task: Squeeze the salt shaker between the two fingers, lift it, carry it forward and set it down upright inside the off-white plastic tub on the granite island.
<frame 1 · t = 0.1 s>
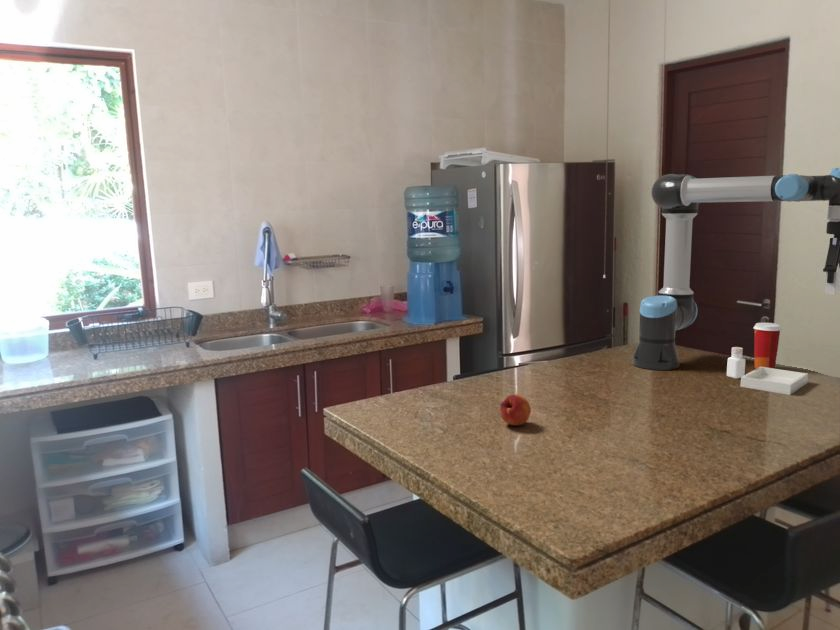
hand: (835, 292, 200), 28 cm above the countertop, fingers open, 13 cm apart
fruit: (514, 425, 169), on the countertop
bin: (774, 384, 203), on the countertop
salt shaker: (735, 377, 212), on the countertop
coffee cup: (764, 369, 223), on the countertop
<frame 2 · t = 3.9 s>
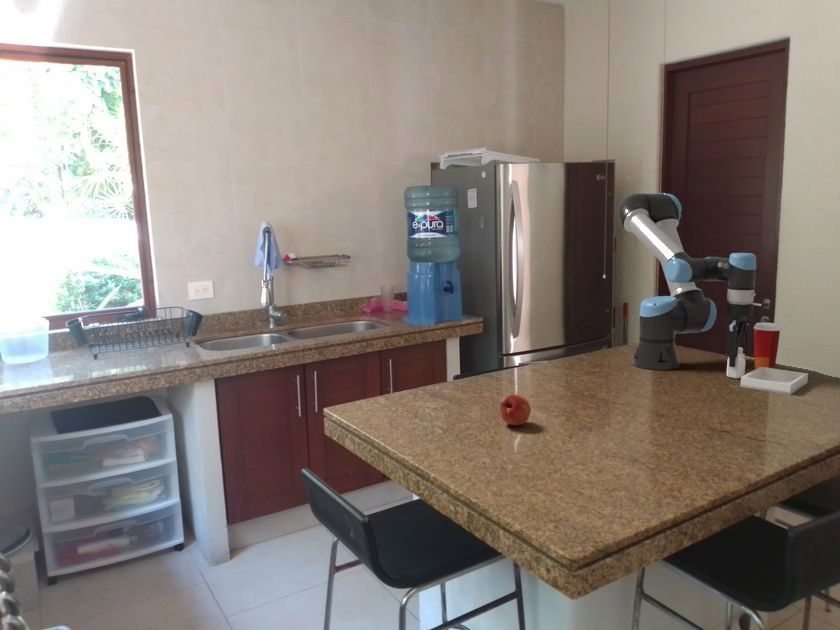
hand: (735, 374, 212), 1 cm above the countertop, fingers closed on salt shaker, 5 cm apart
salt shaker: (735, 377, 212), on the countertop, touching gripper
everything else where it was.
when the fingers open (4 cm above the countertop, at t = 8.5 s): salt shaker drops 2 cm, resting on bin.
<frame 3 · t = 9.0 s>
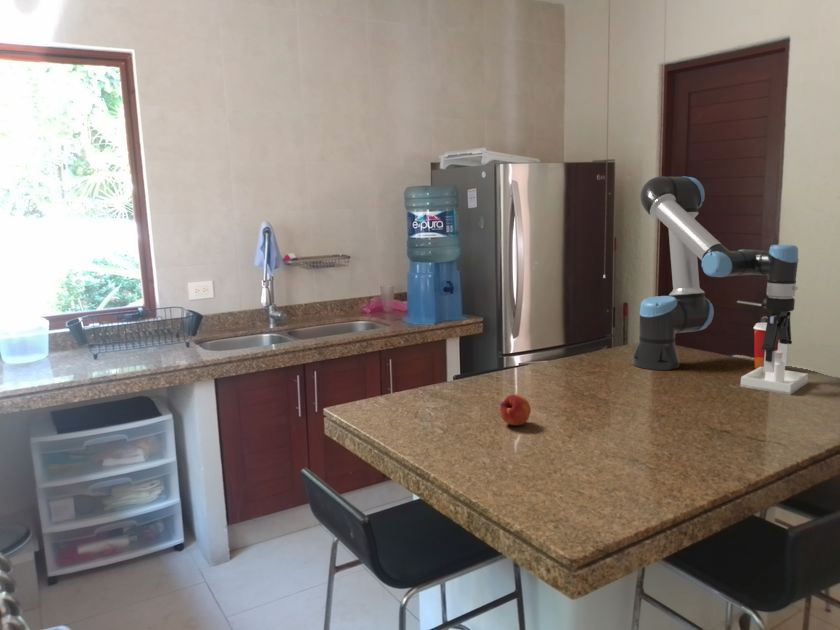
hand: (775, 368, 202), 5 cm above the countertop, fingers open, 11 cm apart
salt shaker: (774, 382, 202), point 1 cm above the countertop, touching bin
everything else where it was.
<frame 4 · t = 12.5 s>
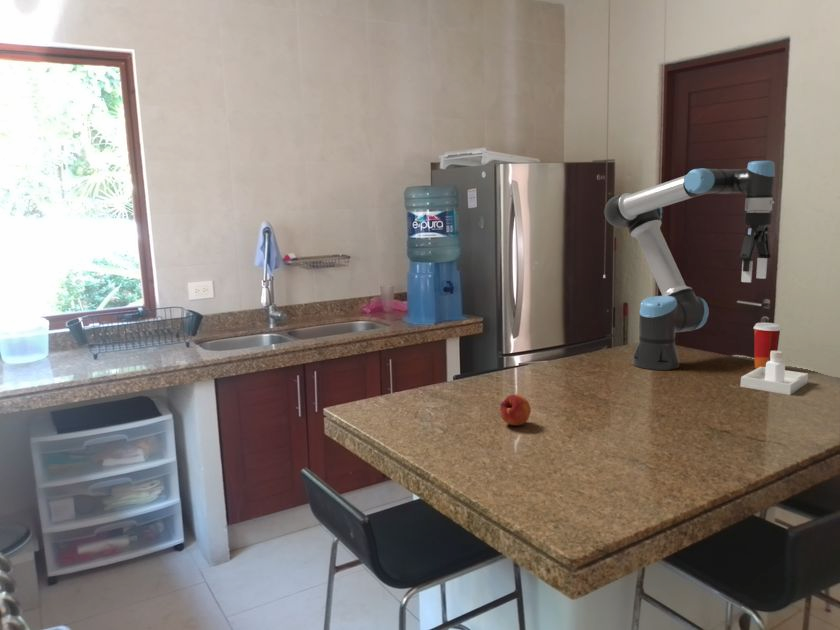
hand: (753, 280, 209), 31 cm above the countertop, fingers open, 13 cm apart
nothing on the countertop moved.
at the end: salt shaker inside the target area on the bin (0.0 cm from its centre), point 0.6 cm above the bin's base; salt shaker tilted 0°; the gripper is holding nothing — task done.
